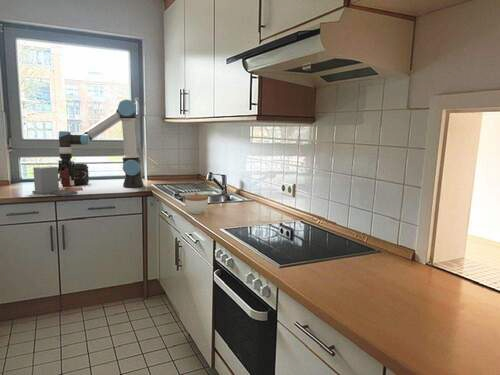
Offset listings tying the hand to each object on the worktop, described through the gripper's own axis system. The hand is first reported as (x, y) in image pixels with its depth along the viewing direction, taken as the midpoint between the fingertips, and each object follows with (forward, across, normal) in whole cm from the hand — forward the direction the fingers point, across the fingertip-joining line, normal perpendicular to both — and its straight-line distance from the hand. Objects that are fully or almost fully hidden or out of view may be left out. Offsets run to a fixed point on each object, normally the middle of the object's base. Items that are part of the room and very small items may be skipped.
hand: (67, 184), depth 262 cm
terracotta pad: (+4, 0, 0) cm, 4 cm away
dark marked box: (+4, +19, -21) cm, 29 cm away
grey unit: (+4, 0, +15) cm, 16 cm away
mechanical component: (+2, 0, 0) cm, 2 cm away
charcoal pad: (+4, -13, +11) cm, 18 cm away
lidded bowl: (+5, -118, +5) cm, 119 cm away
